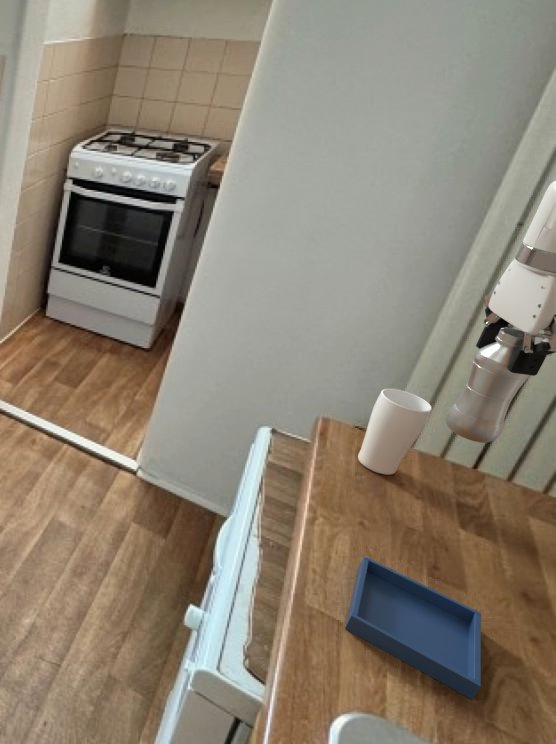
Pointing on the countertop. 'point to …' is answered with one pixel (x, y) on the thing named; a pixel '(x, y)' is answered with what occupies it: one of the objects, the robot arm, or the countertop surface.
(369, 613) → the blue tray
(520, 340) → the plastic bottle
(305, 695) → the countertop surface
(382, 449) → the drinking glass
